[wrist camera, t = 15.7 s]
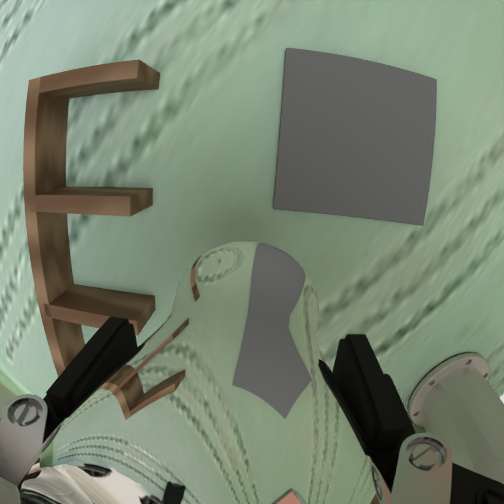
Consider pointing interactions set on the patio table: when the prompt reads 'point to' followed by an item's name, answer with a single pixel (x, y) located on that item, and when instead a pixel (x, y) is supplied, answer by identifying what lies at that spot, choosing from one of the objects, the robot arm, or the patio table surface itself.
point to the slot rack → (74, 207)
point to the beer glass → (217, 404)
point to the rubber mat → (354, 138)
